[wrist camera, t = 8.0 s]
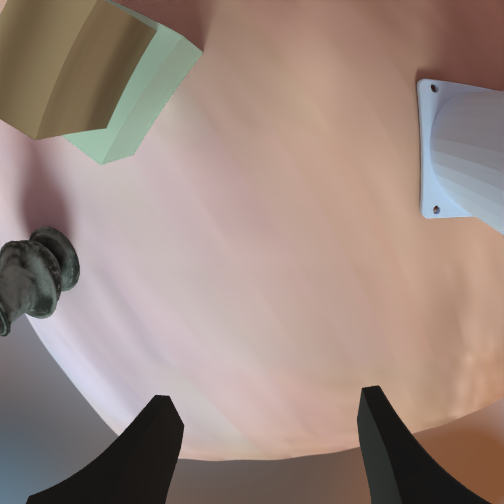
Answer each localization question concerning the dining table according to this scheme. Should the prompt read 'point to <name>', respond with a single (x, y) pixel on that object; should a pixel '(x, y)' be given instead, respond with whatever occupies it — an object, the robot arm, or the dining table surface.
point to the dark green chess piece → (35, 275)
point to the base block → (141, 94)
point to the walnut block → (66, 63)
